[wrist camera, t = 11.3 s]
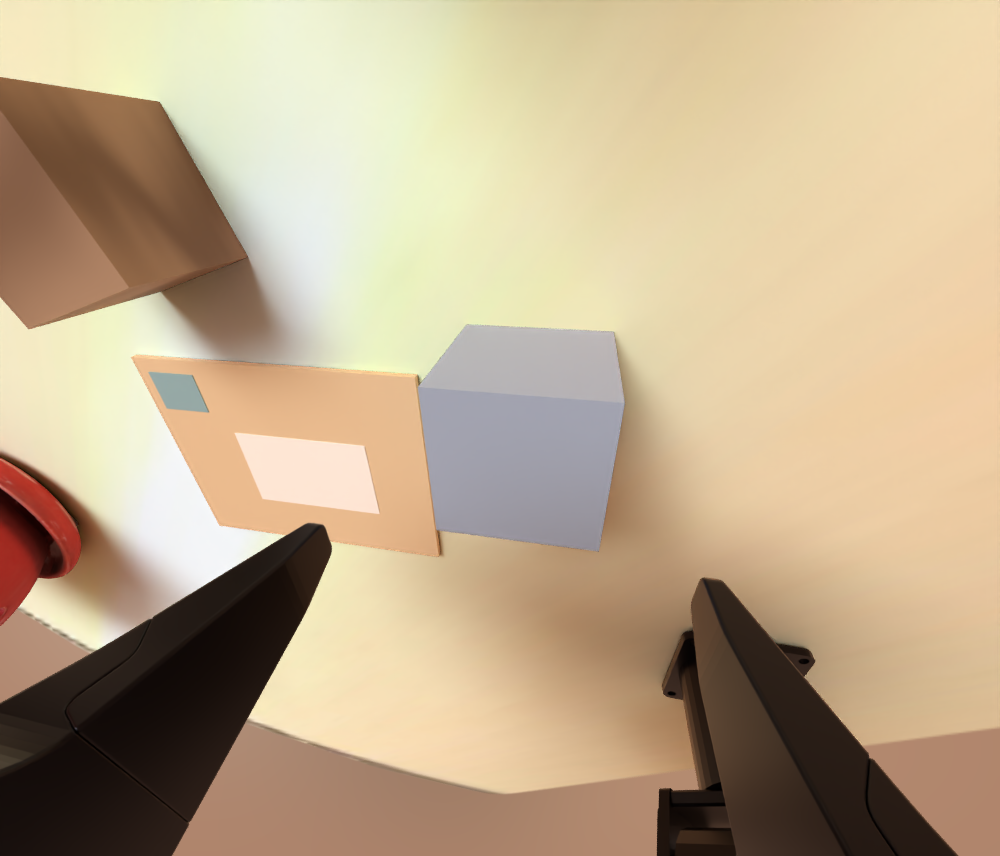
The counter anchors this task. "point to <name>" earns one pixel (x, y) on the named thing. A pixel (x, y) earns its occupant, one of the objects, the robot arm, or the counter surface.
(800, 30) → the counter surface
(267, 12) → the counter surface
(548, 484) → the slate cube
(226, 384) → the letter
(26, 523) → the plant pot
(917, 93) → the counter surface
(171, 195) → the walnut block
